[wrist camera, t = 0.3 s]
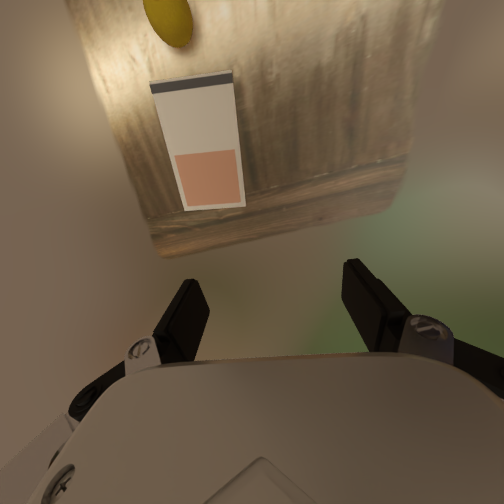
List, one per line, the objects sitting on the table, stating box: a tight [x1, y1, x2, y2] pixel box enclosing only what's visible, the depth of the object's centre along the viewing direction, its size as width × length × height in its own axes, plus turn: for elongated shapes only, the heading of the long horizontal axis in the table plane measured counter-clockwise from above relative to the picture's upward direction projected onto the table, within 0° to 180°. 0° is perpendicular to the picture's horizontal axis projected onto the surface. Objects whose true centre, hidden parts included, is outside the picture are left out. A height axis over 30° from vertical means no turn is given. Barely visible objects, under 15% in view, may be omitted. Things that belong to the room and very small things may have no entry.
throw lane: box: [149, 70, 246, 211], centre depth 35 cm, size 22×14×1 cm, turn 5°
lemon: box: [143, 0, 193, 48], centre depth 24 cm, size 6×6×8 cm
